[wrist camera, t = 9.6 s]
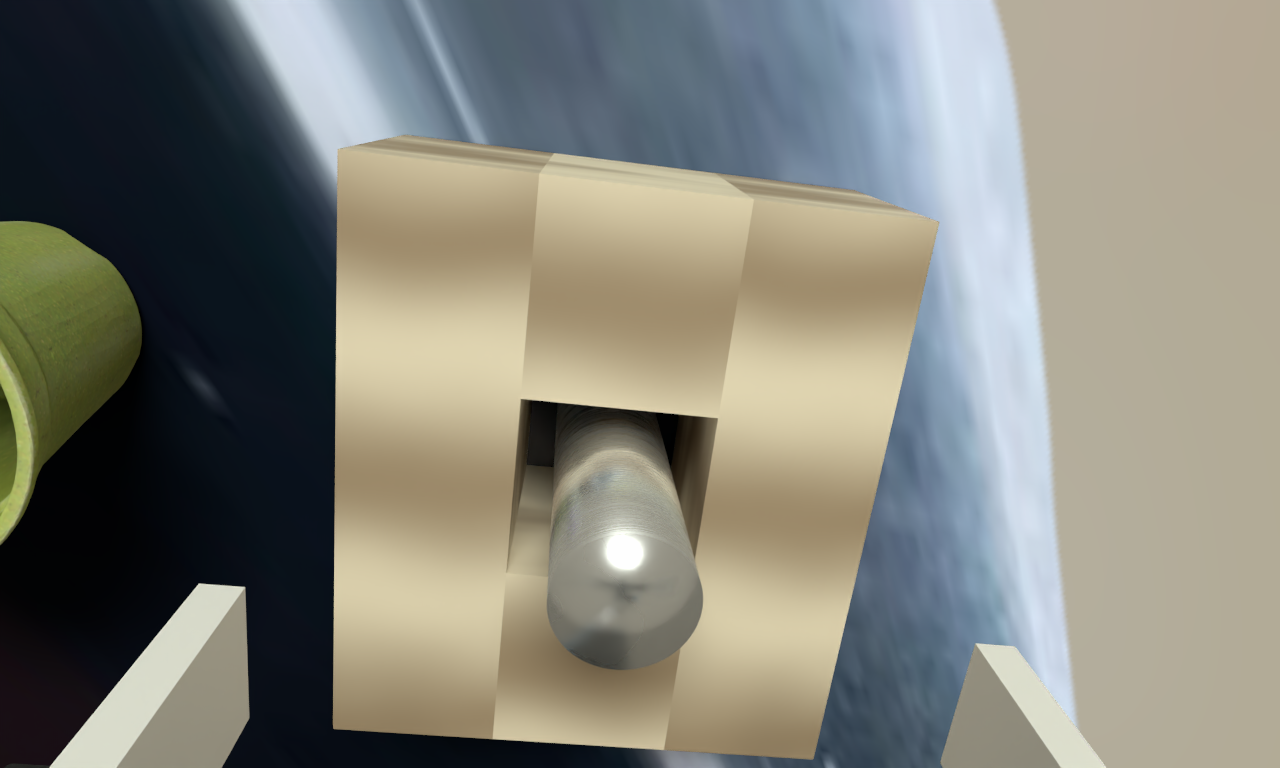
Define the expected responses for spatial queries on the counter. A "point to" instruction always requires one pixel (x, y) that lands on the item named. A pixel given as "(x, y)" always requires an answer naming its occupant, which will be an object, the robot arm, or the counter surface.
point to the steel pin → (618, 542)
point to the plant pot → (55, 349)
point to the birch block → (616, 378)
